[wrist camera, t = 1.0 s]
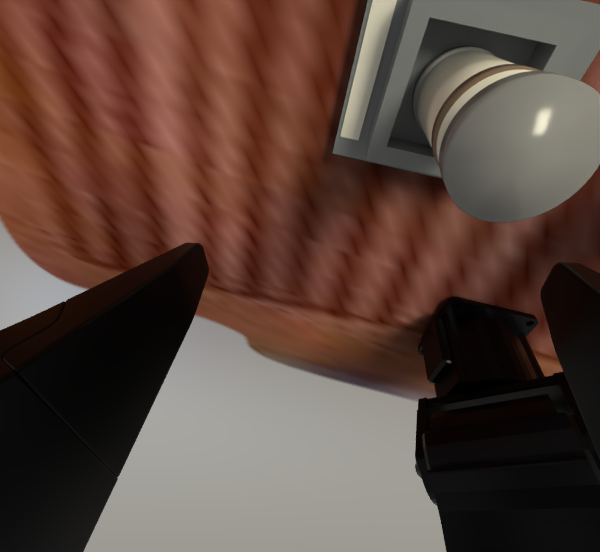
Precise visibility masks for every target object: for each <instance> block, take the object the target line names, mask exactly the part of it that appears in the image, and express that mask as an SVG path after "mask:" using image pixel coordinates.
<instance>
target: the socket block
mask: <svg viewBox="0 0 600 552" xmlns="http://www.w3.org/2000/svg"><path fill="white" fill-rule="evenodd" d="M462 45H469V46H475V47H478V48H481V49H484V50H487V51H489V52H491V53H492V54H493V55H494V56H495V57H497V58H500V59H503V60H506V61H509V62H511V63H514V64H520V65H525V66H529V67H532V68H535V69H538V70H540V71H547V72H553V73H557V74H560V75H563V76H566V77H569V78H572V79H575V80H578V81H580V80H581V78H582V77H583V75H584V74H585V72H586V70H587V69H588V67H589V66H590V64H591V62H592V61H593V59H594V58H595V56H596V54H597V53H598V51H599V50H600V5H599V4H595V3H590V2H586V1H581V0H368V2H367V6H366V11H365V15H364V19H363V23H362V28H361V32H360V36H359V41H358V45H357V49H356V54H355V58H354V62H353V67H352V71H351V75H350V80H349V84H348V88H347V93H346V97H345V101H344V106H343V110H342V114H341V119H340V123H339V127H338V132H337V136H336V140H335V145H334V149H333V154H337V155H342V156H346V157H350V158H355V159H359V160H364V161H368V162H372V163H377V164H381V165H385V166H390V167H394V168H398V169H403V170H407V171H411V172H416V173H420V174H425V175H429V176H433V177H438V178H442V176H441V174H440V168H439V166H438V164H437V162H436V160H435V157H434V154H433V151H432V147H431V145H430V143H429V141H428V139H427V137H426V134H425V132H423V130H422V129H421V128H420V126H419V125H418V123H417V121H416V118H415V116H414V113H413V109H412V94H413V89H414V86H415V83H416V81H417V79H418V77H419V75H420V73H421V72H422V70H423V69H424V68H425V66H426V65H427V64H428V63H429V62H430V61H431V60H432V59H433V58H434V57H436V56H437V55H438V54H440V53H442V52H443V51H445V50H447V49H450V48H453V47H456V46H462Z"/></svg>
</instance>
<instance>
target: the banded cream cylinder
mask: <svg viewBox="0 0 600 552" xmlns="http://www.w3.org/2000/svg"><path fill="white" fill-rule="evenodd" d="M412 109H413V113H414V116H415V118H416V121H417V123H418V125H419V126H420V128H421V129H422V130H423V132H425V134H426V137H427V139H428V141H429V143H430V145H431V147H432V151H433V154H434V157H435V160H436V162H437V164H438V166H439V168H440V174H441V176H442V179H443V182H444V184H445V186H446V188H447V191H448V193H449V195H450V197H451V198H452V200H453V202H454V203H455V204H456V205H457V206H458V207H459V208H460V209H461V210H462V211H463V212H465V213H467V214H468V215H470V216H472V217H474V218H477V219H480V220H483V221H489V222H500V223H502V222H514V221H520V220H524V219H528V218H531V217H534V216H537V215H540V214H542V213H544V212H547V211H549V210H551V209H552V208H554V207H556V206H558V205H559V204H561V203H562V202H564V201H565V200H567V199H568V198H570V197H571V196H572V195H573V194H575V193H576V192H577V191H578V190H579V189H580V188H581V187H582V186H583V185H584V184H585V183H586V182H587V181H588V180H589V178H590V177H591V176H592V175H593V173H594V172H595V171H596V169H597V168H598V166H599V164H600V94H599V93H598V92H597V91H596V90H594V89H593V88H592V87H591V86H589V85H587V84H585V83H583V82H581V81H578V80H575V79H572V78H569V77H566V76H563V75H560V74H557V73H553V72H547V71H540V70H538V69H535V68H532V67H529V66H525V65H520V64H514V63H511V62H509V61H506V60H503V59H500V58H497V57H495V56H494V55H493V54H492V53H491V52H489V51H487V50H484V49H481V48H478V47H475V46H469V45H462V46H456V47H453V48H450V49H447V50H445V51H443V52H442V53H440V54H438V55H437V56H436V57H434V58H433V59H432V60H431V61H430V62H429V63H428V64H427V65H426V66H425V68H424V69H423V70H422V72H421V73H420V75H419V77H418V79H417V81H416V83H415V86H414V89H413V94H412Z"/></svg>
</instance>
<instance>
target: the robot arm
mask: <svg viewBox="0 0 600 552" xmlns="http://www.w3.org/2000/svg"><path fill="white" fill-rule="evenodd" d="M208 273H209V267H208V263H207V260H206V256H205V252H204V249H203V247H202V245H201V244H199V243H185V244H183V245H181V246H178V247H176V248H174V249H172V250H170V251H168V252H166V253H164V254H162V255H160V256H158V257H156V258H153V259H151V260H149V261H147V262H145V263H143V264H141V265H139V266H137V267H135V268H133V269H131V270H128V271H126V272H124V273H122V274H120V275H118V276H116V277H114V278H112V279H110V280H108V281H106V282H103V283H101V284H99V285H97V286H95V287H93V288H91V289H89V290H87V291H85V292H83V293H81V294H78V295H76V296H74V297H72V298H70V299H68V300H67V301H66V302H62V303H60V304H57V305H55V306H53V307H51V308H49V309H48V310H45V311H43V312H41V313H38V314H36V315H34V316H32V317H30V318H28V319H25V320H23V321H21V322H19V323H16V324H14V325H12V326H9V327H7V328H5V329H3V330H0V552H83V551H84V549H85V547H86V545H87V543H88V541H89V538H90V536H91V534H92V532H93V530H94V528H95V526H96V524H97V522H98V519H99V517H100V515H101V513H102V511H103V509H104V507H105V505H106V503H107V501H108V498H109V496H110V494H111V492H112V490H113V488H114V486H115V484H116V482H117V479H118V478H117V477H118V476H119V475H120V473H121V470H122V468H123V466H124V464H125V462H126V460H127V458H128V456H129V454H130V451H131V449H132V447H133V445H134V443H135V441H136V439H137V437H138V435H139V432H140V430H141V428H142V426H143V424H144V422H145V420H146V418H147V415H148V413H149V411H150V409H151V407H152V405H153V403H154V401H155V399H156V396H157V394H158V392H159V390H160V388H161V386H162V384H163V382H164V379H165V378H166V375H167V373H168V371H169V369H170V367H171V365H172V362H173V360H174V359H175V356H176V354H177V352H178V350H179V348H180V346H181V344H182V342H183V340H184V337H185V335H186V333H187V331H188V329H189V327H190V325H191V323H192V320H193V318H194V315H195V313H196V310H197V307H198V304H199V301H200V298H201V295H202V292H203V289H204V286H205V283H206V280H207V277H208ZM541 301H542V305H543V308H544V312H545V316H546V319H547V323H548V327H549V330H550V334H551V338H552V341H553V345H554V348H555V351H556V354H557V356H558V359H559V362H560V364H561V367H562V369H563V371H564V372H559V373H554V374H553V375H552V376H547V377H545V376H544V374H543V372H542V370H541V368H540V366H539V364H538V362H537V360H536V358H535V356H534V353H533V351H532V349H531V347H530V345H529V343H528V341H527V339H526V336H527V335H528V334H529V333H530V332H531V331H532V330H533V329H534V328H535V326H536V325H537V324H538V321H537V319H536V317H535V316H534V315H531V314H526V313H522V312H518V311H514V310H509V309H505V308H501V307H497V306H492V305H488V304H484V303H480V302H476V301H471V300H467V299H463V298H459V297H453V298H450V299H449V300H448V301H447V303H446V304H445V306H444V307H443V309H442V310H441V312H440V313H439V315H438V317H437V318H435V319H434V320H433V321H432V323H431V324H430V326H429V327H428V329H427V330H426V332H425V334H424V335H423V337H422V338H421V343H420V344H419V346H418V352H419V353H420V354H421V355H424V360H425V366H426V373H427V379H428V381H429V382H430V383H433V384H434V385H435V391H436V397H435V398H430V399H427V398H423V399H419V402H418V410H417V430H416V451H415V457H416V465H415V468H416V472H417V474H418V475H419V476H420V477H421V478H422V480H423V483H424V486H425V488H426V491H427V493H428V495H429V497H430V499H431V500H432V502H433V503H434V504H436V505H437V506H438V510H439V515H440V519H441V524H442V529H443V535H444V540H445V545H446V551H447V552H600V273H598V272H596V271H594V270H592V269H589V268H587V267H585V266H583V265H581V264H579V263H569V262H559V263H557V264H555V265H554V266H553V268H552V270H551V272H550V274H549V275H548V277H547V279H546V281H545V283H544V285H543V287H542V289H541ZM455 303H457V304H455ZM453 304H455V305H453ZM528 321H529V322H528Z"/></svg>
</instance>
